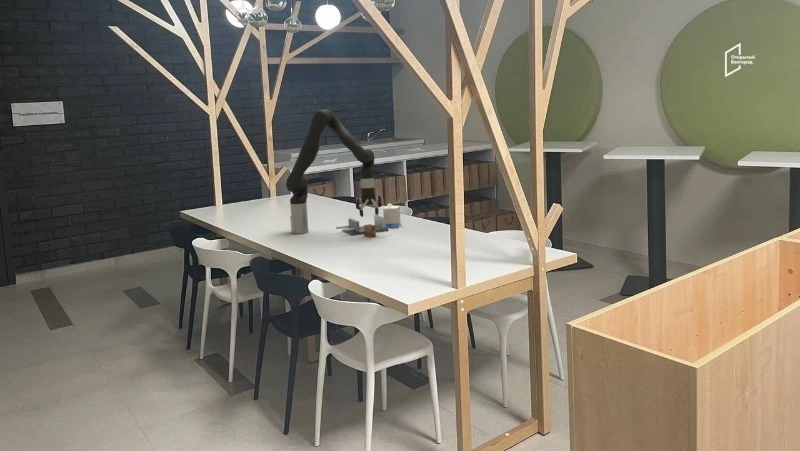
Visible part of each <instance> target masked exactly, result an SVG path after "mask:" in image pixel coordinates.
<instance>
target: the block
mask: <svg viewBox="0 0 800 451" xmlns="http://www.w3.org/2000/svg"><path fill="white" fill-rule="evenodd" d="M374 225H375V224H364V225H363V226H364V234H363V235H364V237H367V238H368V239H370V238H371V239H372V238H376V237H377V232H376V226H374Z"/></svg>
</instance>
